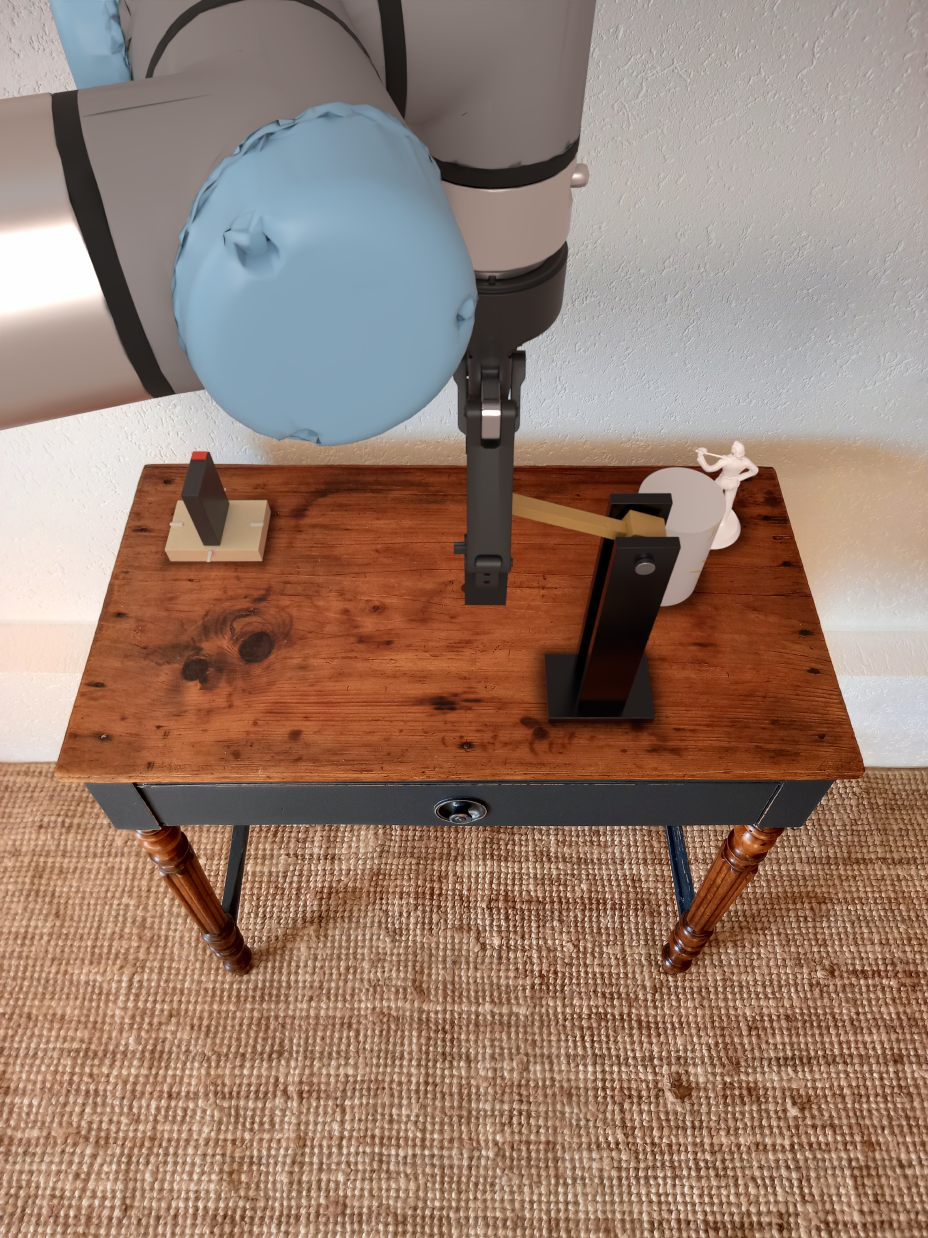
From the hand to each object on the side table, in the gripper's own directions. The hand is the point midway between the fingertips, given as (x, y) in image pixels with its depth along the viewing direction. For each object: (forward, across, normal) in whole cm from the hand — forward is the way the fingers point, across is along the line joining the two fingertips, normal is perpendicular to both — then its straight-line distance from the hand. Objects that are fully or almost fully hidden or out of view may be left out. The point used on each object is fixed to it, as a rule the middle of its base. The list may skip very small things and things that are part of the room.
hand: (484, 521), depth 56 cm
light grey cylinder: (+26, +14, -19) cm, 35 cm away
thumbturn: (+24, +19, +29) cm, 42 cm away
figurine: (+26, +21, -25) cm, 42 cm away
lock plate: (+26, +19, +28) cm, 43 cm away
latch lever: (+1, 0, -5) cm, 6 cm away
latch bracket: (+26, 0, -11) cm, 28 cm away
